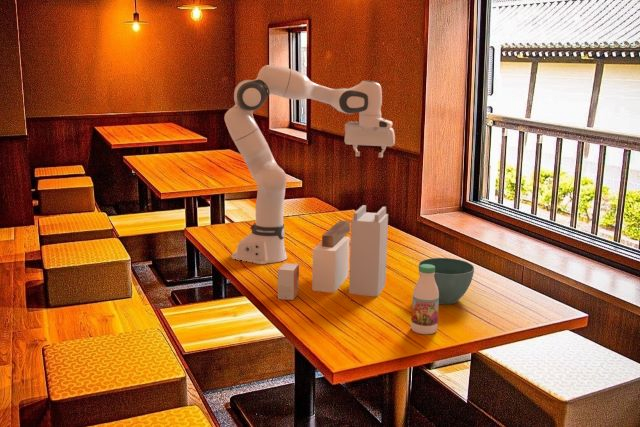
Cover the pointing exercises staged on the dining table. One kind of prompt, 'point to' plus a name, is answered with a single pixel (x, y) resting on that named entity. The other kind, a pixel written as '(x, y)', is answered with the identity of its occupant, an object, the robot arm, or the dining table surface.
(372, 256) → the stand
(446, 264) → the green bowl
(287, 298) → the small box
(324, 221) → the dining table surface
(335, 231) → the rod
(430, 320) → the milk bottle
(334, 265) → the block
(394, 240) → the dining table surface
